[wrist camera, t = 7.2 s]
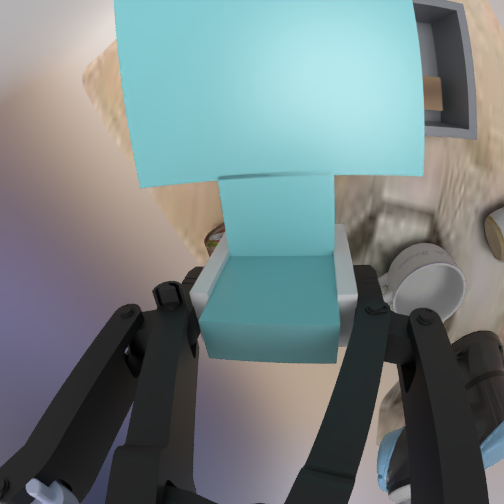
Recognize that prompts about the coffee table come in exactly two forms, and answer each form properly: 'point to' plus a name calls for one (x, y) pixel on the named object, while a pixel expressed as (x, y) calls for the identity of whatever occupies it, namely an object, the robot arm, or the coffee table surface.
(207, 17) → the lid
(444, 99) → the tub
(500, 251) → the ceramic mug
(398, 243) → the coffee table surface
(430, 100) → the walnut block
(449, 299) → the teacup
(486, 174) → the coffee table surface
